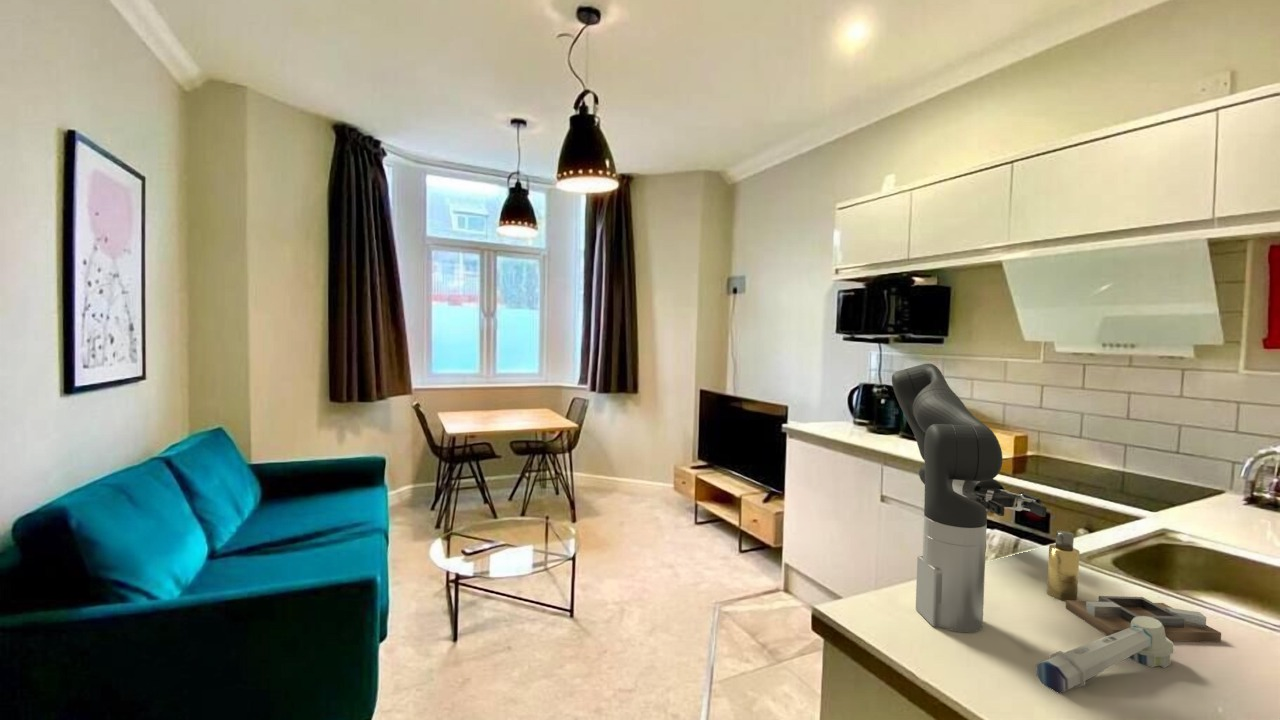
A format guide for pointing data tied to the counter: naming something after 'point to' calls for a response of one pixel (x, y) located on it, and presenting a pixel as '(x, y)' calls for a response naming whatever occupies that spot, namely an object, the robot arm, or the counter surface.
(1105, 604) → the collar and shafts
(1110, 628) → the walnut plate
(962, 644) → the counter surface
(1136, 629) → the grey long angled piece
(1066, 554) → the gold perfume bottle
